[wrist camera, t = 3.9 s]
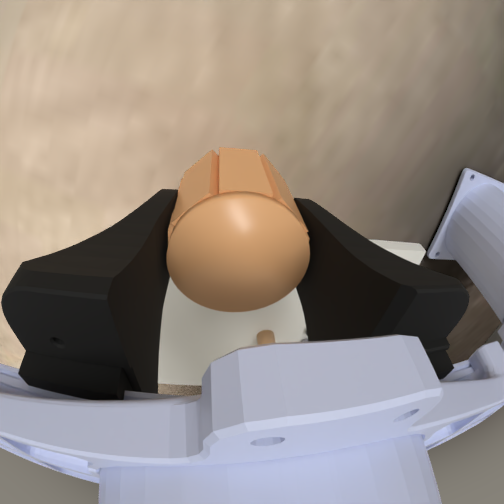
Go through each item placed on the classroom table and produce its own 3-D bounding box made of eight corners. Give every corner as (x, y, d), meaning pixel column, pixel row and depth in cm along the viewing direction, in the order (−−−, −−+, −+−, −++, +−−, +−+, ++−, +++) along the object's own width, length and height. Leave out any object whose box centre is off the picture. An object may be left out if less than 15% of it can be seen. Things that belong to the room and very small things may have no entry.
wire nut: (291, 154, 12) (326, 206, 8) (273, 241, 14) (292, 312, 11) (183, 145, 11) (164, 195, 7) (181, 236, 13) (170, 309, 10)
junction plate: (419, 243, 20) (446, 277, 17) (344, 370, 31) (353, 399, 28) (110, 225, 16) (89, 267, 13) (145, 374, 27) (141, 407, 24)
